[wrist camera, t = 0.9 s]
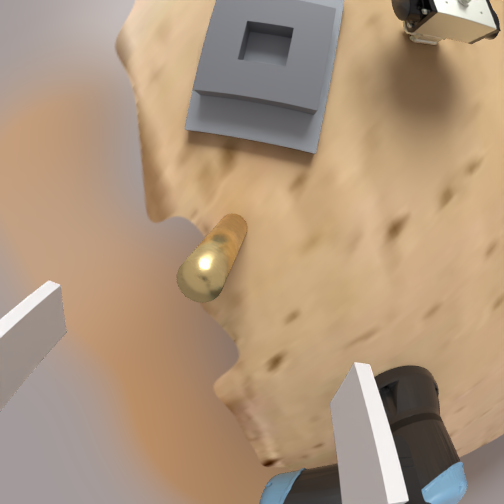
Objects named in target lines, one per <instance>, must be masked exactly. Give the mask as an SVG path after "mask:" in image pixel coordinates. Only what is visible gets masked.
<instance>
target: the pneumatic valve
mask: <svg viewBox="0 0 504 504" xmlns="http://www.w3.org/2000/svg"><path fill="white" fill-rule="evenodd" d="M392 6H393V10H394V12H395V14H396V16H397V17H398V19H400V20H402V21H403V27H404V30H405V32H406V33H407V34H411V35H412V36H410V37H409V39H410V40H412V41H413V42H416V43H423V44H430V45H436V44H438V42H439V41H440V40H441V39H443V40H445V39H446V38H447V39H452V40H456V41H461V42H465V43H469V44H473V43H475V42H477V41H479V40H481V39H484V38H485V39H489V40H492V39H494V38H495V37H496V36H497V35H498V33H499V31H500V27H499V19H498V17H497V14H496V13H495V11H494V10H493V9H492V6H491V4H490V1H489V0H392Z"/></svg>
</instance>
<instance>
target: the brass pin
mask: <svg viewBox="0 0 504 504" xmlns="http://www.w3.org/2000/svg"><path fill="white" fill-rule="evenodd" d="M246 233H247V224H246V221H245V220H244V219H243V218H242V217H241V216H239V215H237V214H229V215H226V216H225V217H223V218H222V220H221V221H220V222H219V223H218V224H217V225H216V226H215V227H214V228H213V230H212V231H211V232H210V233H209V234H208V235H207V236H206V238H205V239H204V240H203V241H202V242H201V243H200V244H199V245H198V247H197V248H196V249H195V250H194V251H193V252H192V254H191V255H190V256H189V257H188V258H187V259H186V261H185V262H184V263H183V264H182V265H181V266H180V268H179V270H178V273H177V284H178V286H179V289H180V290H181V292H182V293H183V294H184V295H185V296H186V297H187V298H189V299H191V300H193V301H196V302H201V303H204V302H209V301H212V300H214V299H215V298H217V297H218V296H219V294H220V293H221V291H222V288H223V286H224V284H225V281H226V279H227V277H228V274H229V272H230V270H231V267H232V265H233V263H234V260H235V258H236V256H237V253H238V251H239V249H240V246H241V244H242V242H243V239H244V237H245V235H246Z"/></svg>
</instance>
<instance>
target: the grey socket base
mask: <svg viewBox="0 0 504 504" xmlns="http://www.w3.org/2000/svg"><path fill="white" fill-rule="evenodd" d="M343 5H344V0H216V3H215V6H214V9H213V13H212V16H211V19H210V23H209V26H208V30H207V34H206V37H205V41H204V45H203V49H202V52H201V56H200V60H199V64H198V68H197V73H196V77H195V81H194V86H193V90H192V95H191V99H190V104H189V109H188V114H187V119H186V124H185V130H190V131H197V132H204V133H211V134H218V135H224V136H230V137H236V138H242V139H247V140H253V141H258V142H263V143H268V144H273V145H278V146H282V147H287V148H292V149H296V150H300V151H305V152H309V153H313V154H316V150H317V146H318V141H319V136H320V131H321V127H322V122H323V117H324V112H325V107H326V102H327V97H328V92H329V86H330V81H331V76H332V70H333V65H334V59H335V54H336V48H337V42H338V36H339V30H340V24H341V18H342V11H343Z"/></svg>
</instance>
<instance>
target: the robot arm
mask: <svg viewBox="0 0 504 504" xmlns="http://www.w3.org/2000/svg"><path fill="white" fill-rule="evenodd" d="M66 333H67V331H66V325H65V318H64V310H63V302H62V293H61V285H59V284H56V283H54V282H52V281H47V282H46V283H45V284H43V285H42V286H41V287H40V288H38V289H37V290H36V291H34V292H33V293H32V294H31V295H29V296H28V297H27V298H26V299H24V300H23V301H22V302H21V303H20V304H18V305H17V306H16V307H15V308H13V309H12V310H11V311H10V312H9V313H8V314H6V315H5V316H4V317H3V318H2V319H0V411H1V410H2V409H3V408H4V406H5V405H6V404H7V402H8V401H9V400H10V399H11V397H12V396H13V395H14V393H15V392H16V391H17V390H18V389H19V387H20V386H21V385H22V384H23V382H24V381H25V380H26V379H27V377H28V376H29V375H30V374H31V373H32V371H33V370H34V369H35V368H36V367H37V366H38V364H39V363H40V362H41V361H42V360H43V359H44V357H45V356H46V355H47V354H48V353H49V352H50V351H51V350H52V348H53V347H54V346H55V345H56V344H57V343H58V341H60V339H61V338H62V337H63V336H64V335H65V334H66ZM438 394H439V393H438V386H437V383H436V381H435V380H434V378H433V376H432V374H431V373H430V372H429V371H428V370H427V369H425V368H422V367H419V366H403V367H398V368H394V369H391V370H388V371H386V372H383V373H381V374H379V375H378V376H376V377H374V376H373V373H372V370H371V367H370V364H364V363H356V362H354V363H353V365H352V367H351V369H350V370H349V372H348V374H347V376H346V377H345V379H344V381H343V382H342V384H341V386H340V387H339V389H338V391H337V392H336V394H335V396H334V397H333V399H332V400H331V402H330V409H331V416H332V423H333V430H334V437H335V445H336V453H337V461H338V463H337V464H333V465H328V466H322V467H317V468H311V469H305V468H302V469H300V470H298V471H293V472H287V473H282V474H278V475H276V476H274V477H273V478H272V479H270V481H269V482H268V483H267V485H266V487H265V489H264V491H263V493H262V496H261V500H260V504H457V502H458V501H460V499H461V498H462V497H463V495H464V494H465V492H466V489H467V481H466V478H465V474H464V471H463V463H462V462H460V459H459V457H458V454H457V452H456V450H455V448H454V445H453V443H452V441H451V438H450V436H449V434H448V432H447V430H446V427H445V425H444V423H443V421H442V419H441V417H440V406H439V399H438Z"/></svg>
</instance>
